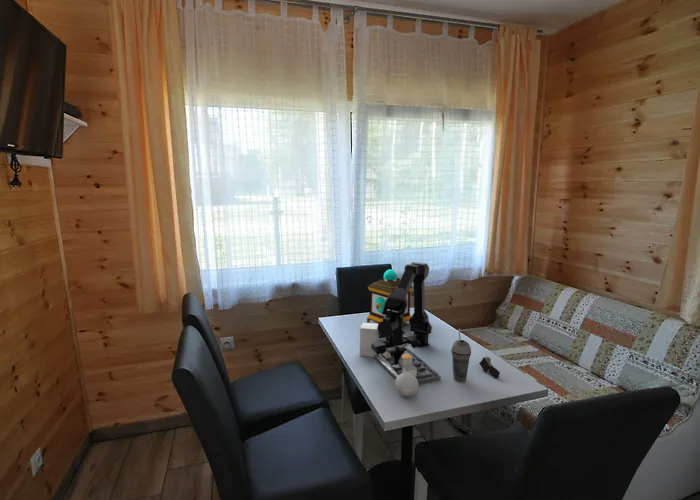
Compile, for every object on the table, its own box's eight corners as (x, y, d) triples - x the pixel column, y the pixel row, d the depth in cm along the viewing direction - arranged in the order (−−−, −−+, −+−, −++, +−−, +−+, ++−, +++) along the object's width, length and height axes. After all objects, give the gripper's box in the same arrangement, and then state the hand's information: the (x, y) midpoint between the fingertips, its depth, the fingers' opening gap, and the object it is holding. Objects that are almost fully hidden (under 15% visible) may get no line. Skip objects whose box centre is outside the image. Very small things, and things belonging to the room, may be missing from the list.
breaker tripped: (407, 361, 149) (407, 353, 149) (412, 365, 146) (412, 357, 145) (398, 363, 148) (399, 355, 147) (403, 367, 144) (403, 358, 144)
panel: (407, 352, 161) (407, 347, 161) (440, 379, 138) (440, 373, 138) (374, 358, 156) (374, 352, 155) (402, 387, 133) (402, 381, 132)
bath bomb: (404, 386, 134) (405, 365, 133) (422, 395, 128) (423, 373, 127) (390, 394, 129) (390, 373, 127) (408, 404, 123) (408, 382, 121)
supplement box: (376, 357, 157) (376, 329, 155) (359, 355, 158) (359, 328, 156) (378, 350, 164) (378, 323, 162) (362, 348, 165) (362, 322, 163)
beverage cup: (466, 386, 133) (469, 334, 130) (447, 381, 137) (449, 330, 134) (471, 377, 140) (474, 328, 136) (452, 372, 143) (455, 324, 140)
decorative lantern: (363, 323, 196) (363, 269, 191) (387, 315, 209) (388, 263, 204) (391, 334, 181) (392, 275, 176) (416, 324, 194) (417, 269, 189)
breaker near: (411, 372, 140) (411, 364, 140) (416, 376, 137) (416, 368, 136) (402, 374, 139) (402, 365, 138) (407, 378, 136) (407, 370, 135)
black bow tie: (496, 381, 142) (503, 373, 138) (491, 382, 141) (498, 375, 137) (483, 362, 148) (489, 354, 144) (478, 363, 147) (485, 355, 143)
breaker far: (391, 353, 156) (391, 346, 155) (395, 357, 153) (395, 349, 152) (383, 355, 155) (383, 347, 154) (386, 359, 151) (386, 351, 151)
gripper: (406, 317, 153) (405, 352, 156) (365, 323, 147) (365, 359, 149) (420, 326, 143) (419, 364, 146) (377, 333, 137) (376, 372, 139)
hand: (395, 364), depth 145 cm, fingers closed
